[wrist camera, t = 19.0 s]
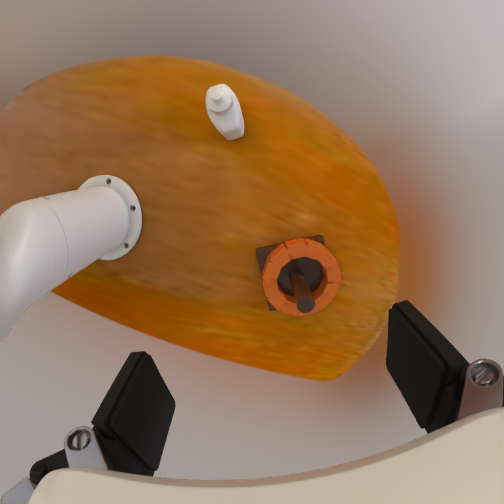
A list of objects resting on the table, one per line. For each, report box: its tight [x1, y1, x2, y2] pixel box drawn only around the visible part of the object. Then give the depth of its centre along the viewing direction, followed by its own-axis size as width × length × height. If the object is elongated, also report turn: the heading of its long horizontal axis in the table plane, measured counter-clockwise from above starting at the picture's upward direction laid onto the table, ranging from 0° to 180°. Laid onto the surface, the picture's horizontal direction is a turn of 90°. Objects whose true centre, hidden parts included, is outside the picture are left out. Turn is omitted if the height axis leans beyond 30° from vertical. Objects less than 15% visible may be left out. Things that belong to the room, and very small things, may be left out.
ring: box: [262, 238, 341, 317], centre depth 36 cm, size 10×10×2 cm
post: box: [256, 235, 325, 313], centre depth 33 cm, size 9×9×10 cm
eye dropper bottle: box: [206, 84, 244, 140], centre depth 27 cm, size 4×6×12 cm
